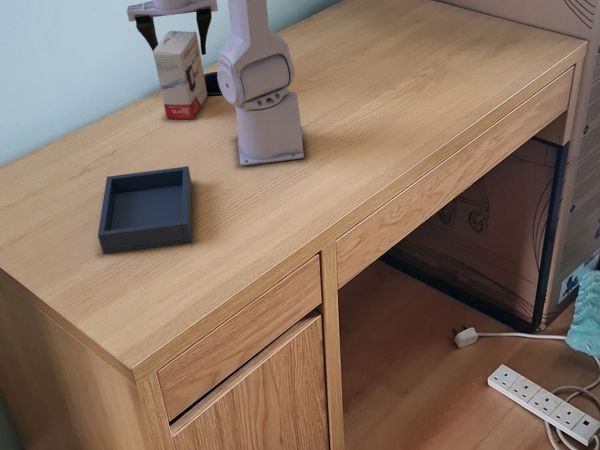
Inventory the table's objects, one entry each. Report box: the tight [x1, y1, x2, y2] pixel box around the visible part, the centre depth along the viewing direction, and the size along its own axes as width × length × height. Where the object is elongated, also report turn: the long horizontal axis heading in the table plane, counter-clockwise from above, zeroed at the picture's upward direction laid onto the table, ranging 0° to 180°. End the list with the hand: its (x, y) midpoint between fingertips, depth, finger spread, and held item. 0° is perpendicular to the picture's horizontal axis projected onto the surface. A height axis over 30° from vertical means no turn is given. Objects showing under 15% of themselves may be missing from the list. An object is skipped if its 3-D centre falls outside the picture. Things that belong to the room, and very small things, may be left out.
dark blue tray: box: [97, 166, 193, 255], centre depth 107 cm, size 12×14×3 cm
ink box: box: [152, 30, 208, 120], centre depth 129 cm, size 9×5×12 cm, turn 168°
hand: (181, 54), depth 134 cm, fingers open, 7 cm apart
